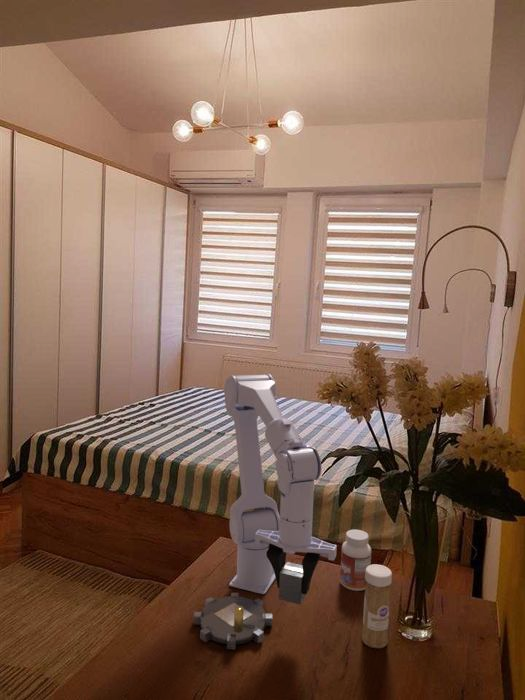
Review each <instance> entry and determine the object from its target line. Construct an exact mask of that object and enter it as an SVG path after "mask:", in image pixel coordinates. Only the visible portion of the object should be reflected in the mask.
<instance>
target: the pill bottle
mask: <svg viewBox="0 0 525 700" xmlns="http://www.w3.org/2000/svg"><path fill="white" fill-rule="evenodd" d="M371 560H372V547H371V546H370V545H369V533H367V532H366V531H364V530H361V529H348V531H347V530H346V532H345V541H344V542H343V543H342V545H341V558H340V572H339V573H340V577H339V581H340V584H341V585H342V586H343V587H344V588H346V590H347V589H348V590H350V591H355V592H359V591H365V587H366V581H365V571H366V568H367V567H368V566H369V565H372V564H371V563H372V561H371Z"/></svg>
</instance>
